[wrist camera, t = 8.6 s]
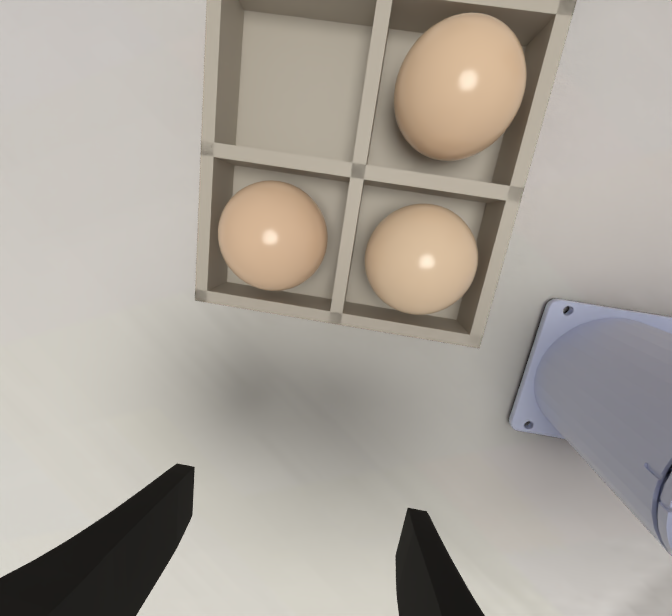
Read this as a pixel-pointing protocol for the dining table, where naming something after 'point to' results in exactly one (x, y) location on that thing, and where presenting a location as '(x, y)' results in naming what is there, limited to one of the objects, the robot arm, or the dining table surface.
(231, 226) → the seated egg
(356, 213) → the egg tray
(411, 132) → the loose egg
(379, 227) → the seated egg
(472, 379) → the dining table surface
